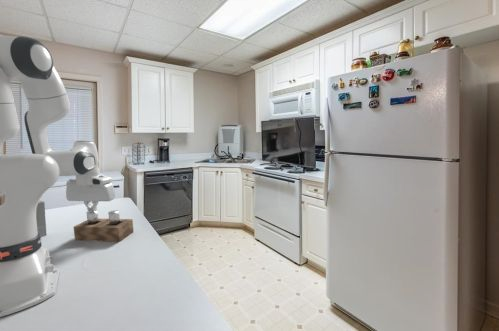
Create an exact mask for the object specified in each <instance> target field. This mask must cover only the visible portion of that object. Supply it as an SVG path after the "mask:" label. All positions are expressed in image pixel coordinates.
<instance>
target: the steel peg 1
mask: <svg viewBox="0 0 499 331" xmlns="http://www.w3.org/2000/svg"><path fill="white" fill-rule="evenodd" d="M86 218H87V219H86V221H88V225H95V224H97V223H99V221H98V219H99V213H98V210H96V211H88V210H87V211H86Z"/></svg>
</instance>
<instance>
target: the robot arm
mask: <svg viewBox="0 0 499 331" xmlns="http://www.w3.org/2000/svg"><path fill="white" fill-rule="evenodd" d="M53 59H54V58H53V56H52V53H51V52H50V50H49V49H48V48H47V47H46V45H44V44H43V42H42V41H40V40H38V39H36V38H32V37H28V36H11V35H4V34H0V145H1V144H2V143H5V142H7V141H9V140H11V139H13V138H15V136H17V135H18V133H19V132H20V129H21V126H20V122H19V116H18V112H17V107H16V103H15V98H14V95H13V91H12V88H11V86H10V85H11V80H12V79H17V80H18V81H19V82H20V85H21V88H22V90H23V93H24V95H25V98H26V101H27V105H28V109H27V111H26V112H25V113H24V117H23V120H24V126H25V131H26V134H27V138H28V142H29V146H30V150H31V152H29V153H28V152H27V153H24V152H23V153H7V154H6V153H5V154H3V153H0V194H4V201H3V204H0V318H1V317H4V316H8V315H11V314H14V313H16V312H20V311H23V310H25V309H28V308H30V307H33V306H35V305H37V304H40V303H42V302H44V301H46V300H48V299H50V298H52V296H54V295H55V294H56V291H57V286H58V282H59V278H60V269H59V268H57V267H54V264H53V263H51V261H52V256H51V255H50V253H49V249H48V248H46V247H43V246H42V244H43V243H42V237H40V234H39V233H38V231H37V221H36V209H37V205H38V202H39V200H41V198H42V196H43V195H44V194H45V193H46V192H47V191H48V190H49V189H51V187H53V186H54V185H55V184H56V182H57V181H58V179H59V178H60V177H70V176H75V178H73V179H72V178H70V179H69V180H67V181H66V182H65V184H66V188H65V197H66V198H65V199H66V200H67V201H68V202H83V203H84V205H85V207H86V209H87V210H86V211H87V212H88V211H96V210H97V206H98V204H99V202H112V201H113V200H115V197H116V193H115V188H114V184H113V183H112V182H113V177H111V176H108V175H105V174H103V173H101V170H100V168H99V164H100V161H99V160H100V159H99V152H98V148H97V145H96V143H95V142H93V141H90V140H76V141H73V144H72V148H70V150H54V149H52V148H51V146H50V141H49V138H48V133H47V129H48V126H49V125H52V124H54V123H56V122H59V121H61V120H62V119H63V118H65V117H66V116H67V115H68V114H69V112H70V110H71V103H70V102H71V101H70V99H69V96H68V92H67V90H66V88H65V85H64V83H63V80H62V78H61V76H60V74H59V73H58V71H57V70H56V68H55V66H54V60H53ZM97 211H98V210H97Z"/></svg>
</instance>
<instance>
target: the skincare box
mask: <svg viewBox="0 0 499 331" xmlns="http://www.w3.org/2000/svg"><path fill="white" fill-rule="evenodd" d="M36 221H37V231H38V233H39V234H40V237H41V238H42V237H45V236H48V235H47V224H46V206H45V201H43V200H41V199H40V200H39V202H38V205H37V209H36Z"/></svg>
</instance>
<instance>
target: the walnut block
mask: <svg viewBox="0 0 499 331" xmlns="http://www.w3.org/2000/svg"><path fill="white" fill-rule="evenodd" d="M98 221H99V223H97V224H95V225H88V221H87V220H85V221H83V222H81V223H78V224H76V225H74V226H73V233H74V241H80V242H81V241H82V242H109V241H110V243H111V242H115V243H121V242H122V241H123V240H124V239H126V238H127V237H129V236H130V235H131V234H134V223H133V222H134V221H133V218H132V219H131V218H120V224H118V225H110V224H109V218H98Z"/></svg>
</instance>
